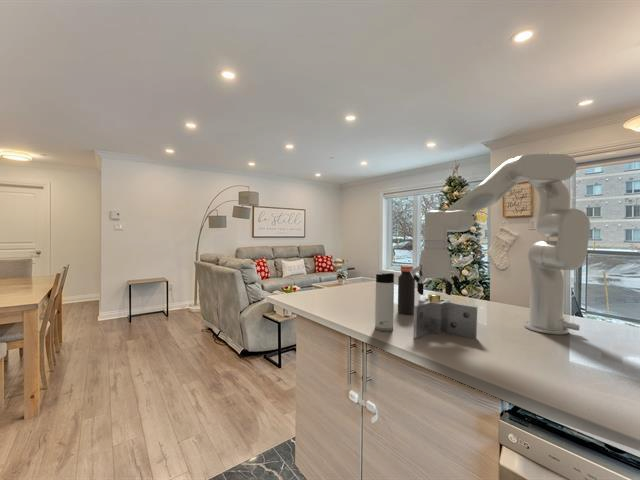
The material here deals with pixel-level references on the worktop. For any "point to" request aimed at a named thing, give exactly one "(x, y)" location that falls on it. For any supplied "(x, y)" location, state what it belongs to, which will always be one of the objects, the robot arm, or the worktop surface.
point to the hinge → (444, 318)
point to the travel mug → (384, 302)
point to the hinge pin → (434, 298)
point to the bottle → (406, 291)
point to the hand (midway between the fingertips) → (434, 294)
